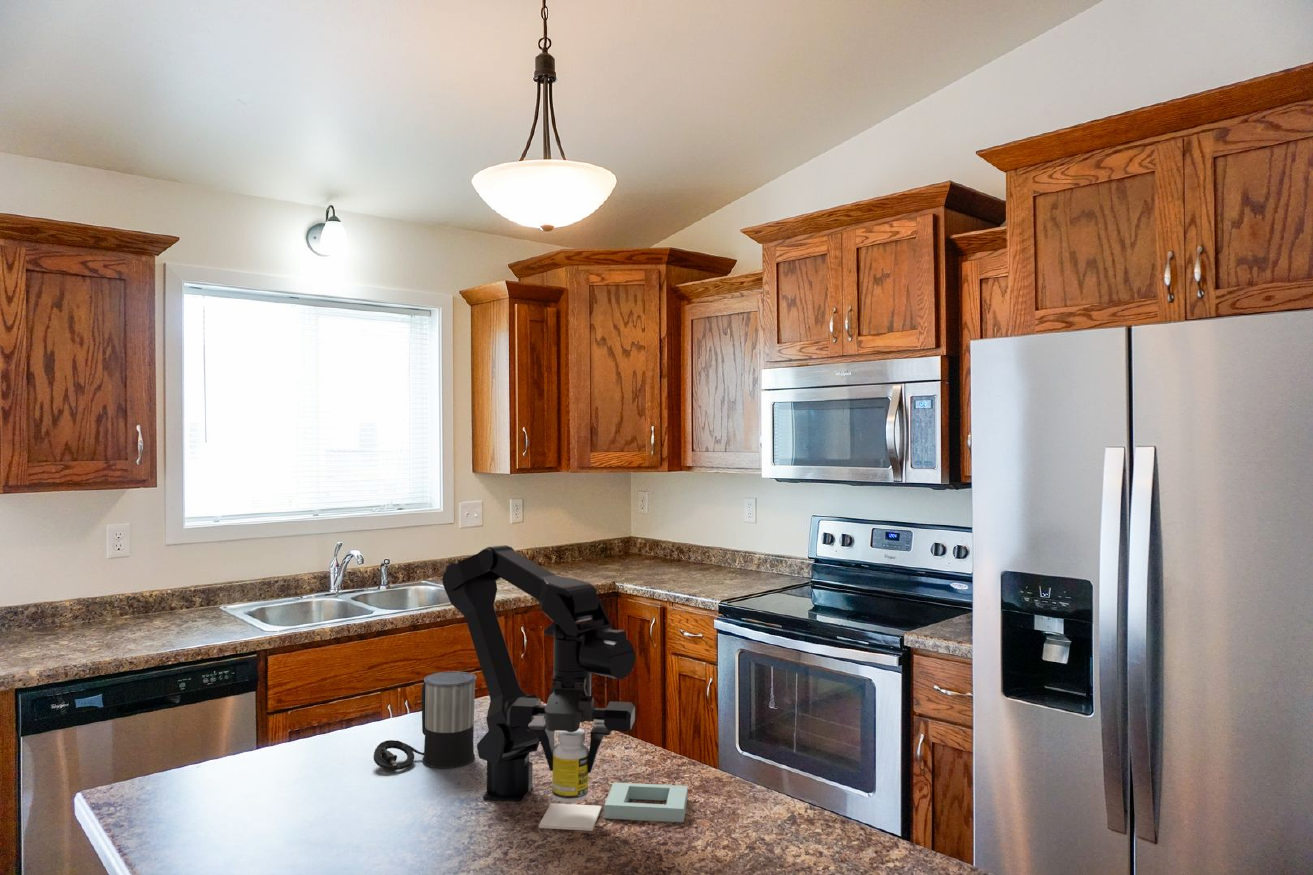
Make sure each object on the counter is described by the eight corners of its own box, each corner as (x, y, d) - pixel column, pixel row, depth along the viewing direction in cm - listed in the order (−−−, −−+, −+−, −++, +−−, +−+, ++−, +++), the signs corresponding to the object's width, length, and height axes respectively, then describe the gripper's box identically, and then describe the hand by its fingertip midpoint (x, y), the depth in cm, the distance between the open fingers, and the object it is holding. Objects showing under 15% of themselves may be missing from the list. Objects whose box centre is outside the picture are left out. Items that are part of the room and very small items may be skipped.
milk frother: (486, 757, 155) (487, 675, 155) (418, 785, 142) (420, 695, 142) (431, 743, 163) (432, 664, 163) (362, 768, 149) (363, 682, 150)
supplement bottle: (582, 805, 126) (583, 738, 127) (547, 801, 127) (548, 735, 128) (592, 791, 132) (593, 727, 132) (558, 787, 133) (559, 724, 133)
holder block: (604, 818, 129) (604, 804, 129) (613, 794, 138) (613, 782, 138) (683, 822, 128) (683, 808, 128) (687, 798, 137) (687, 785, 137)
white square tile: (538, 827, 126) (538, 824, 126) (550, 805, 134) (550, 803, 134) (592, 830, 125) (592, 827, 125) (601, 808, 133) (601, 805, 133)
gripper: (497, 678, 123) (495, 788, 123) (626, 683, 121) (624, 795, 121) (517, 660, 134) (515, 760, 134) (636, 664, 132) (634, 766, 132)
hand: (570, 770), depth 130 cm, fingers closed on supplement bottle, 5 cm apart
